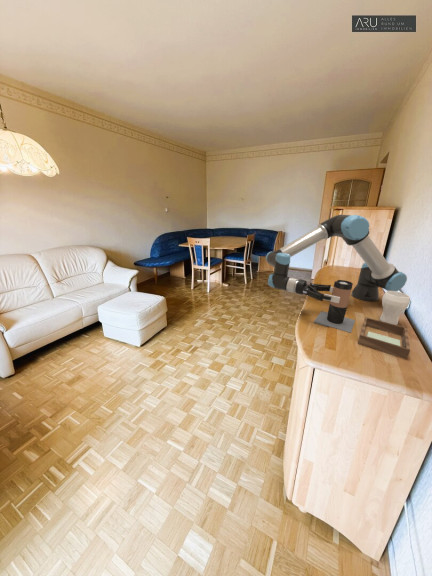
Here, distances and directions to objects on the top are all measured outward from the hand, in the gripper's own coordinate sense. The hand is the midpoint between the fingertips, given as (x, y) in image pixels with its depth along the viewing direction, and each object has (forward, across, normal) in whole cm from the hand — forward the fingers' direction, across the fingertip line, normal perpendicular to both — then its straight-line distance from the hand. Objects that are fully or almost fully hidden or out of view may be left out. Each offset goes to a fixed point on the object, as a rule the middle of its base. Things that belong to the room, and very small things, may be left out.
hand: (341, 296), depth 107 cm
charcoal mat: (0, 0, -14) cm, 14 cm away
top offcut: (+19, +10, -12) cm, 25 cm away
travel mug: (0, 0, -13) cm, 13 cm away
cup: (+21, -20, -14) cm, 33 cm away
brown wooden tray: (+19, +5, -14) cm, 24 cm away
